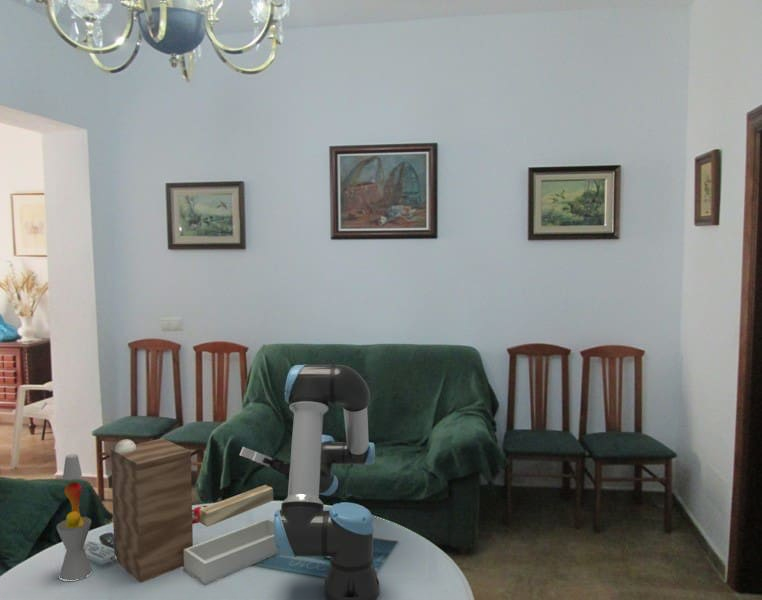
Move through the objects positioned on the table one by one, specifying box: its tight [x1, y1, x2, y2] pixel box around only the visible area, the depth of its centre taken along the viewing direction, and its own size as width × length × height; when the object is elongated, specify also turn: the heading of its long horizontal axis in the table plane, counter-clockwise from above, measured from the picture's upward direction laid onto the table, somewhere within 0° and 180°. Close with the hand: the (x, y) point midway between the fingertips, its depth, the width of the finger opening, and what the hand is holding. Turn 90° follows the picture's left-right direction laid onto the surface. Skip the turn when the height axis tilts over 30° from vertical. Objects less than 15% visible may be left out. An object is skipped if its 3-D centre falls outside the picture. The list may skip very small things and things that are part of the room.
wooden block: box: [110, 437, 194, 583], centre depth 180 cm, size 18×16×37 cm
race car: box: [192, 505, 208, 524], centre depth 211 cm, size 13×5×4 cm, turn 125°
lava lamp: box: [55, 453, 93, 580], centre depth 173 cm, size 9×9×35 cm
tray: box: [183, 517, 279, 585], centre depth 183 cm, size 12×30×6 cm, turn 136°
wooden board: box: [199, 484, 274, 527], centre depth 182 cm, size 4×23×4 cm, turn 136°
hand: (248, 453), depth 184 cm, fingers open, 6 cm apart
